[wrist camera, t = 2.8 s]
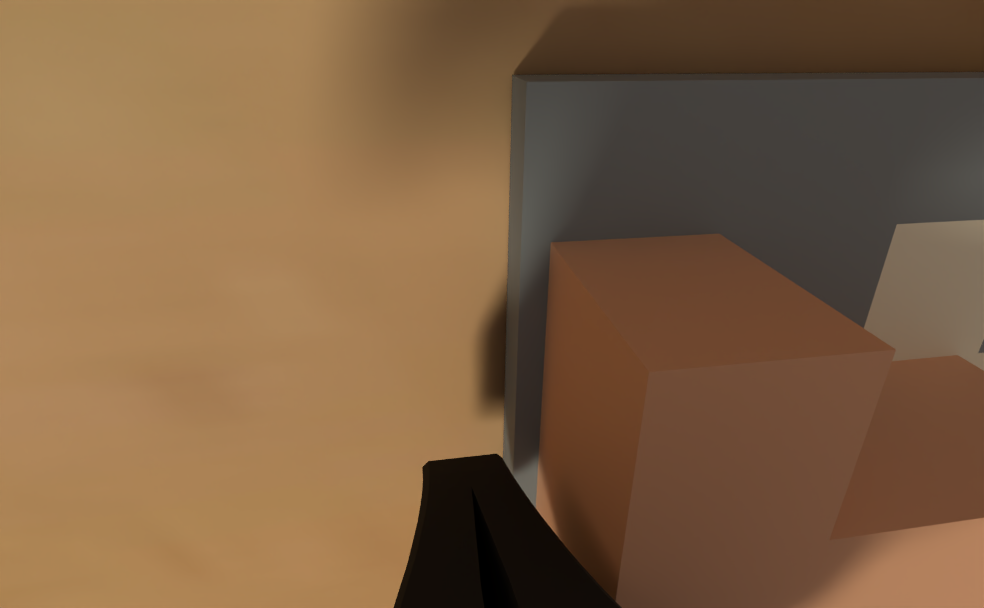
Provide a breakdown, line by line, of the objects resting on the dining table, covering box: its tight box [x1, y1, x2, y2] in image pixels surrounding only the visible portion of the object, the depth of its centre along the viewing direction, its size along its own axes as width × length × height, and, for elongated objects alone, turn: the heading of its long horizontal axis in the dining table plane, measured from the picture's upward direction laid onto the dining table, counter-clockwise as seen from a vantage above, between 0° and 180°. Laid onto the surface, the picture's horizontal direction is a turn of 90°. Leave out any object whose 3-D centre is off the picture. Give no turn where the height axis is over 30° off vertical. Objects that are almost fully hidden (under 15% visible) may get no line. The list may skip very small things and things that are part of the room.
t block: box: [536, 234, 984, 608], centre depth 11 cm, size 9×9×4 cm
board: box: [503, 72, 984, 508], centre depth 15 cm, size 18×17×1 cm
